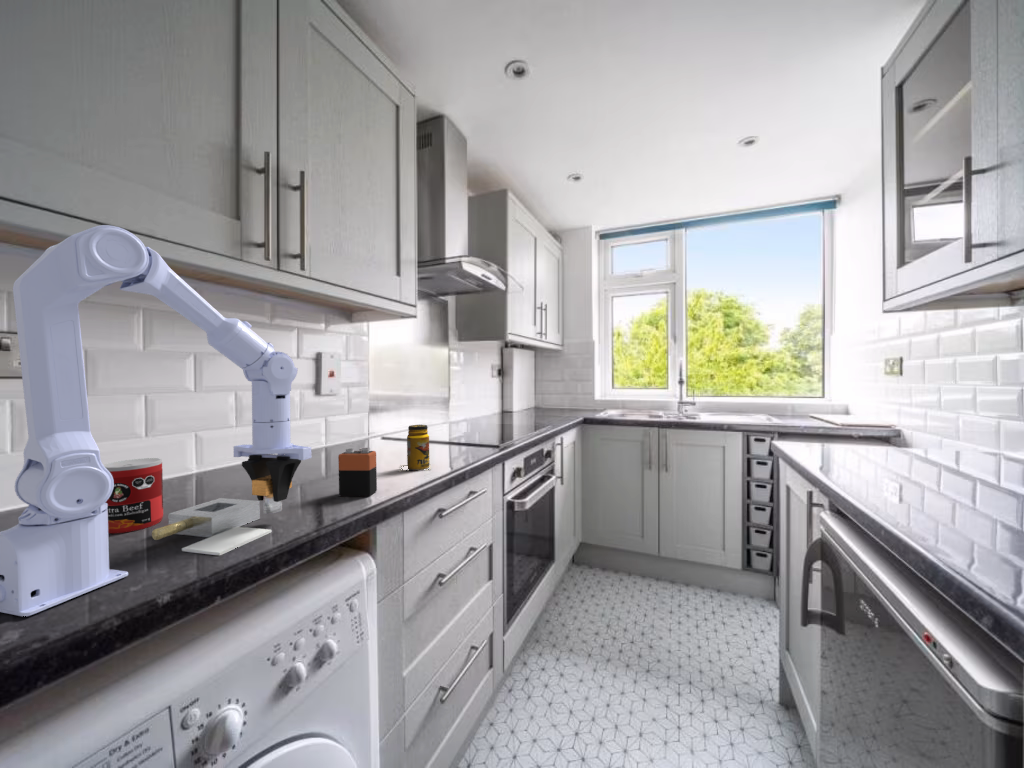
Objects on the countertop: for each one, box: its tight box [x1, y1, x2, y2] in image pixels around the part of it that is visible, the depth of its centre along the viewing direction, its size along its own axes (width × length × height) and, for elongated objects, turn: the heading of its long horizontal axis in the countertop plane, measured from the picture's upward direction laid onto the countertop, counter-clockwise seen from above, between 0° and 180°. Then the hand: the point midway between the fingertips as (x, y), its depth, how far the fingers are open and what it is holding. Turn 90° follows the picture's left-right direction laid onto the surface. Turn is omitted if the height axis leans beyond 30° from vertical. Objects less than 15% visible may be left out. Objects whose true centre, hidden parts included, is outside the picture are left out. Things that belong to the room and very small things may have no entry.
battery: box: [338, 447, 378, 498], centre depth 88 cm, size 4×7×10 cm, turn 87°
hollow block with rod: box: [151, 497, 261, 541], centre depth 68 cm, size 14×9×3 cm, turn 166°
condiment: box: [398, 424, 432, 473], centre depth 113 cm, size 7×8×12 cm
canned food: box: [103, 457, 164, 534], centre depth 71 cm, size 8×8×11 cm
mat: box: [181, 526, 273, 556], centre depth 63 cm, size 9×7×1 cm
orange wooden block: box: [251, 475, 293, 515], centre depth 71 cm, size 6×3×6 cm, turn 166°
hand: (272, 499), depth 71 cm, fingers closed on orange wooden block, 3 cm apart
